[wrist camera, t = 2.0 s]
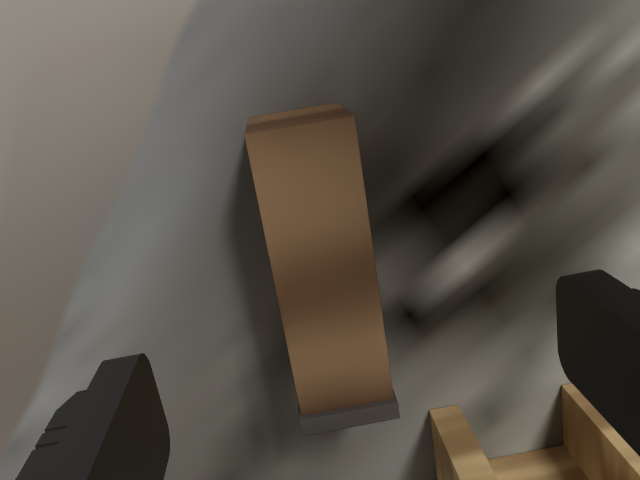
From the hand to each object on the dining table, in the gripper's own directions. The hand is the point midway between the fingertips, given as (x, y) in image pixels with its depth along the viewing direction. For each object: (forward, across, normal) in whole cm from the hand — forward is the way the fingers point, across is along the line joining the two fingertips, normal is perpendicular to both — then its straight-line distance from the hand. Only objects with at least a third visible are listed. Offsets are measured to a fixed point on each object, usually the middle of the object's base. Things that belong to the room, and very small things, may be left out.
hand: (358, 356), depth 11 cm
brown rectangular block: (+17, 0, +3) cm, 17 cm away
